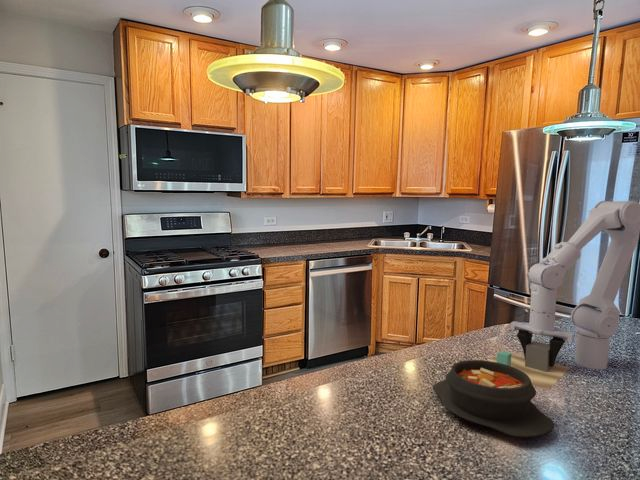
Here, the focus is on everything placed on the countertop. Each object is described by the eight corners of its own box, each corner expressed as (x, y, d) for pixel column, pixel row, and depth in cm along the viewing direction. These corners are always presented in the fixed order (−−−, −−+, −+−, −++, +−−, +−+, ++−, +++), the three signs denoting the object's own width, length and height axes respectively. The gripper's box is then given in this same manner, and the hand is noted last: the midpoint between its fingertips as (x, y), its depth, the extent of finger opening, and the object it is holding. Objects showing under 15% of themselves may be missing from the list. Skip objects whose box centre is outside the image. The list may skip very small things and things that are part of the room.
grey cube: (531, 361, 112) (533, 340, 111) (553, 366, 108) (554, 345, 107) (524, 366, 108) (526, 345, 107) (546, 372, 104) (548, 350, 104)
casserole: (576, 433, 78) (579, 389, 77) (507, 458, 70) (509, 410, 69) (474, 381, 100) (475, 347, 100) (412, 395, 92) (413, 359, 92)
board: (503, 353, 119) (503, 350, 119) (570, 370, 107) (570, 367, 107) (475, 371, 106) (475, 368, 106) (548, 392, 95) (548, 389, 94)
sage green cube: (500, 365, 108) (501, 350, 108) (510, 368, 106) (511, 353, 106) (496, 368, 106) (497, 352, 106) (506, 371, 105) (507, 355, 104)
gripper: (507, 308, 109) (504, 358, 110) (570, 319, 99) (566, 375, 100) (517, 303, 114) (514, 352, 115) (578, 314, 104) (574, 367, 105)
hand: (539, 362), depth 108 cm, fingers closed on grey cube, 5 cm apart
